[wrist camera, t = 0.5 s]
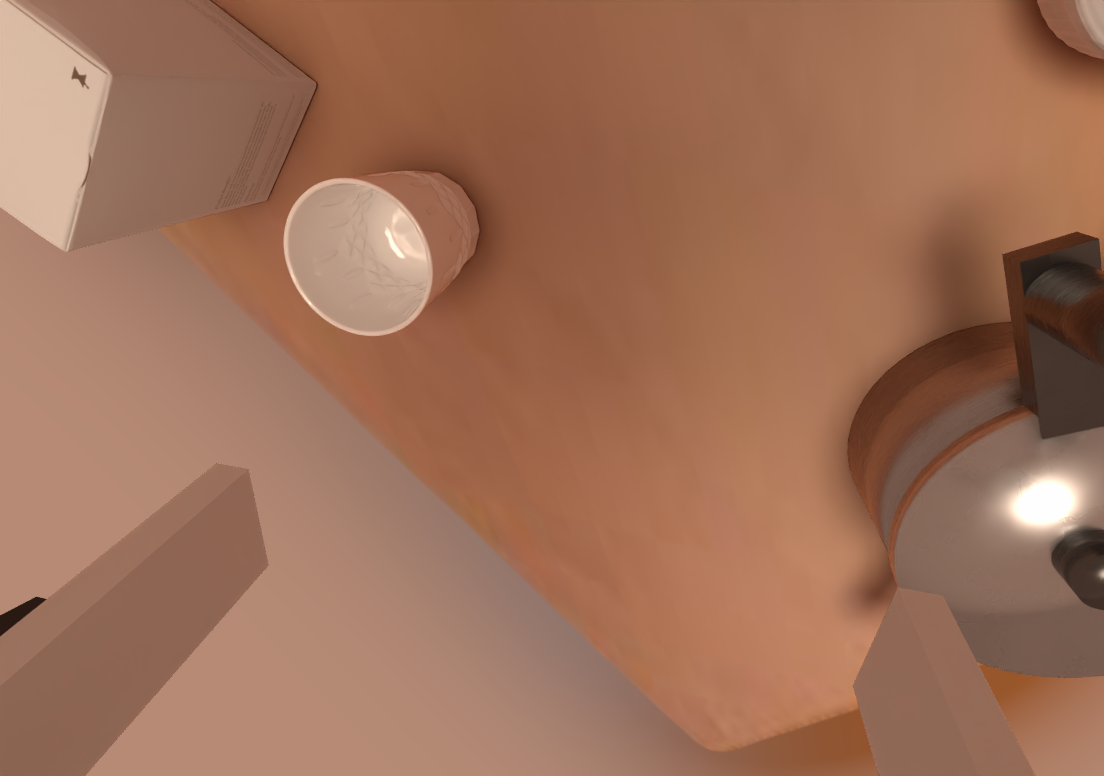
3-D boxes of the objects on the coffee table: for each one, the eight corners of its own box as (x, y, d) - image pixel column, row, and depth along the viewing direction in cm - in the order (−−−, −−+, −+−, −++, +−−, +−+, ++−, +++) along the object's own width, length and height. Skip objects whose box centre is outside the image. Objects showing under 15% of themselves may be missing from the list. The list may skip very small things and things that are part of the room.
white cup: (473, 300, 40) (416, 357, 31) (364, 262, 40) (277, 306, 31) (502, 184, 36) (446, 210, 27) (382, 142, 37) (289, 155, 28)
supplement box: (192, -18, 35) (-107, -93, 21) (321, 83, 36) (114, 72, 22) (149, 119, 39) (-124, 128, 25) (266, 206, 40) (63, 258, 27)
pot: (962, 635, 44) (1026, 751, 36) (759, 560, 45) (778, 660, 37) (1311, 266, 31) (1536, 324, 23) (1014, 164, 31) (1131, 186, 23)
